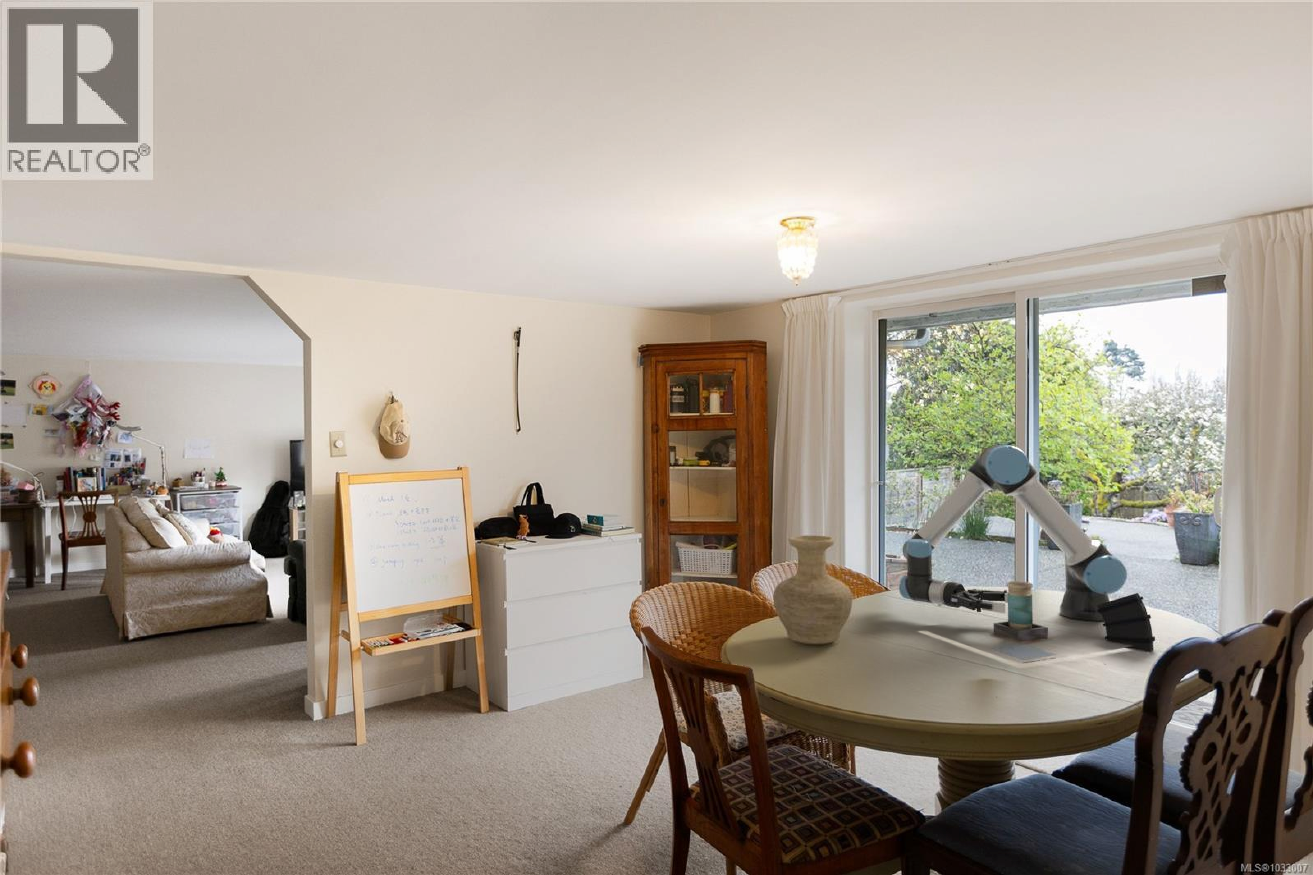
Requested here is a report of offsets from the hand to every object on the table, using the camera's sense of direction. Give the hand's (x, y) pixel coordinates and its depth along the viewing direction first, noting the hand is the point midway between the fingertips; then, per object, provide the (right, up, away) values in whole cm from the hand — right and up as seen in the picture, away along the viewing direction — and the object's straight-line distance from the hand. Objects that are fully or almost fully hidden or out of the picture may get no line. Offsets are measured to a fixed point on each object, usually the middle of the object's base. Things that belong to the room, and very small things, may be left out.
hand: (1016, 604), depth 225 cm
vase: (-58, -11, +2) cm, 59 cm away
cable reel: (+1, -9, 0) cm, 9 cm away
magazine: (+26, -10, -10) cm, 29 cm away
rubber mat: (-6, -10, -16) cm, 20 cm away
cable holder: (+1, -10, 0) cm, 10 cm away
